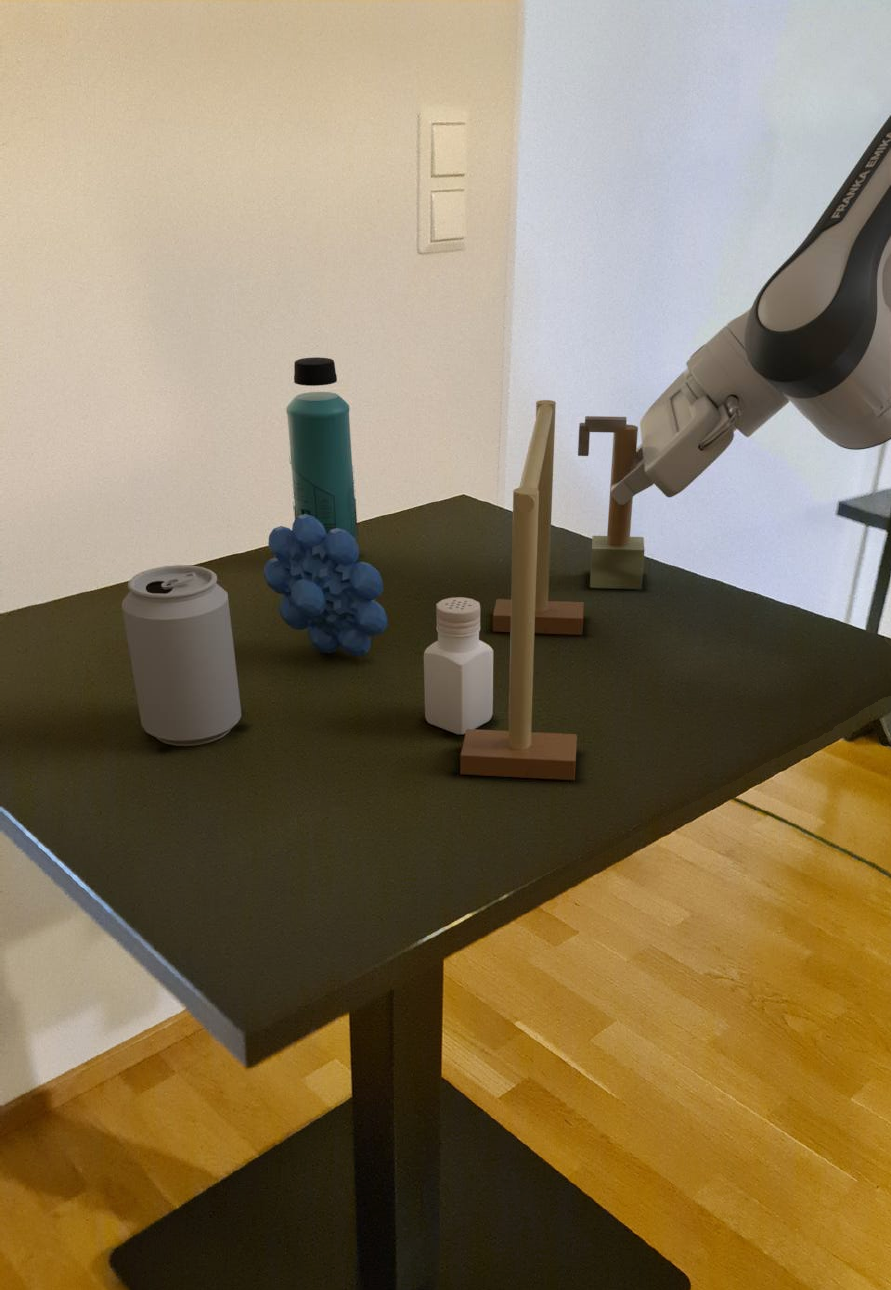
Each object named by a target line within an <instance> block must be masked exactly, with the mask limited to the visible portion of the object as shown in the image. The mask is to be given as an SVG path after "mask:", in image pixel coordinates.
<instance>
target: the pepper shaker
mask: <svg viewBox="0 0 891 1290" xmlns="http://www.w3.org/2000/svg"><path fill="white" fill-rule="evenodd" d="M435 610H436V611H435V612H436V627H435V628H436V631H437V640H436V641H434V642H433V643H431V644H430V645H429V646H427V647H426V649H425V650H424V651H423V682H424V687H423V688H424V717H425V720H426V723H428V724H430V725H433V726H435V727H437V728H441V729H443V730H446V731H448V732H451V733H452V734H456V735H465V733H466V730H467V729H477V728H479V727H481V726H483V725H484V724H486V723H488V722H489V721H490V720H491V719H492V717H493V714H494V712H493V711H494V710H493V709H494V703H493V702H494V649H493V648H492V647H491V646H490V645H489V644H488V643H486V642H484V641H483V640H481V639H480V631H481V604H480V602H479V601H477V600H475V599H473V598H468V597H462V596H458V597H457V596H456V597H448V598H444V599H440V601H438V602H437V603H436V609H435Z"/></svg>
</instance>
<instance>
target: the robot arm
mask: <svg viewBox="0 0 891 1290" xmlns="http://www.w3.org/2000/svg"><path fill="white" fill-rule="evenodd" d="M685 365H686V369H685V370H683V371H682V373H680V374H679V375H678V376H677V377H676V379H674V381H673V382H672V383H671V384H670V385H669V386H668V387H667V388H666V389H665V390H664V391H663V392H662V393H661V394H660V396H659V397H658V398H657V399H656V400H655V401H654V402H653V403H652V404H651V405H650V407H649V408H648V409H647V411H646V412H645V413H644V414H643V416H642V418H641V419H640V420H639V427H640V437H641V443H640V444H639V445H637V448H636V462H635V469H633V470H632V471H631V472H630V473H629V474H627V475H626V476H625V477H622V478H621V479H619V480H618V481H617V482H616V483H615V484H614V485H613V486H612V487H611V496H612V497H613V498H614V499H615V500H616V502H617V503H618V504H620V505H623V504H625V503H626V502H628V501H629V500H630V499H631V498H632V497H633V498H634V497H635V496H636V495H637V494H638V495H639V494H640V493H641V492H643V491H645V490H646V489H649V488H650V487H652V486H653V485H654V486H656V488H658V490H660V491H661V493H662V494H663V495H664V496H665V497H667V498H672V497H674V496H676V495H678V494H680V493H681V492H683V491H685V490H686V488H687V487H689V485H691V484H692V483H693V482H694V481H695V480H696V479H697V478H698V477H699V476H700V475H702V474H703V473H704V472H705V471H706V470H707V469H708V468H709V467H710V466H711V465H712V464H713V463H714V462H715V461H716V460H717V459H718V458H719V457H720V456H721V455H722V454H723V453H724V452H725V451H726V450H727V449H728V448H729V446H730V445H731V444H732V442H733V440H734V438H735V433H734V432H735V431H737V430H738V431H739V432H740V433H741V434H742V435H743V436H744V437H745V438H750V437H752V435H753V434H754V433H755V432H756V431H758V430H759V429H760V428H761V427H762V426H764V424H766V423H767V422H768V421H769V420H770V419H772V418H773V417H774V416H775V415H776V414H777V413H779V412H780V411H781V410H782V409H783V408H784V407H785V406H786V405H788V404H789V403H791V404H792V405H793V406H794V407H795V409H797V411H799V413H800V414H801V415H802V416H803V417H804V418H805V419H806V420H807V421H809V422H810V423H811V424H812V425H813V427H814V428H816V429H817V431H818V432H819V433H820V434H821V435H822V436H824V437H825V438H826V439H827V440H829V441H831V442H833V443H834V444H835V445H837V446H838V447H840V448H843V449H847V450H851V451H852V450H853V451H858V450H859V451H861V450H867V449H871V448H875V447H877V446H880V445H883V444H885V443H887V442H889V441H891V114H890V115H889V117H888V118H887V119H886V120H885V122H884V123H883V125H882V126H881V128H880V129H879V130H878V132H877V133H876V135H874V137H873V139H872V140H871V141H870V142H869V145H867V147H866V149H865V150H864V152H863V153H862V155H861V156H860V158H859V159H858V161H857V162H856V164H855V165H854V167H853V169H852V170H851V171H850V173H849V175H848V176H847V177H846V179H844V181H843V183H842V185H841V186H840V188H839V189H838V190H837V192H836V193H835V195H834V197H833V198H832V199H831V201H830V203H829V204H828V205H827V207H826V208H825V210H824V211H823V213H822V214H821V216H820V217H819V219H818V220H817V222H816V223H815V225H814V226H813V227H812V228H811V230H810V232H808V234H807V236H806V237H805V239H804V240H803V241H802V242H801V243H800V245H799V246H798V247H797V249H796V250H795V251H794V252H793V253H792V254H791V255H790V256H789V257H788V258H787V259H786V260H785V261H784V262H783V263H782V264H781V265H780V266H779V267H778V268H777V270H776V271H775V272H774V273H772V275H771V276H770V277H769V279H768V280H767V281H766V282H765V283H764V285H763V286H762V287H761V288H760V290H759V291H758V293H757V295H756V297H755V299H754V300H753V303H752V306H751V307H750V308H749V309H748V310H746V311H745V312H744V313H742V314H741V315H738V316H737V317H735V318H733V319H731V320H730V321H729V322H727V323H726V325H724V326H723V327H722V328H721V329H720V330H719V331H718V332H716V333H715V334H714V336H712V337H711V338H710V339H709V340H708V341H707V342H706V343H705V344H703V345H701V346H700V347H699V348H697V350H695V352H694V353H692V355H690V357H689V359H687V361H686V362H685Z"/></svg>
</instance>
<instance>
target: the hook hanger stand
mask: <svg viewBox="0 0 891 1290" xmlns="http://www.w3.org/2000/svg"><path fill="white" fill-rule="evenodd" d="M627 421H628V420H627V416H603V415H602V416H601V415H600V416H598V415H597V416H593V415H586V416H584V422H579V425H578V443H577V456H578V457H589V456H590V435H591V433H611V434H613V435H612V436H613V437H612V451H611V453H612V454H611V468H610V469H611V470H610V485H609V503H608V516H607V517H608V518H607V531H606V532H607V533H606V535H592V539H591V558H590V573H589V574H590V575H589V576H590V577H589V578H590V579H589V588H590V589H612V590H613V589H615V590H616V589H617V590H642V587H643V585H642V584H643V574H644V563H645V551H646V550H645V539H644V537H643V536H631V527H632V516H633V500H634V496H633V497H632V498H631V499H630V500H629V501H628V502H626V503H625V504H623V505H620V504H618V503H617V502H616V500H615V499H614V498H613V497H612V496H611V487H612V486H613V485H614V484H615V483H616V482H617V481H618V480H619V479H621V478H622V477H625V476H626V475H627V474H629V473H630V472H631V471H632V470H633V469H635V462H636V448H637V447H638V433H639V427H638V426H637V425H634V424H627Z"/></svg>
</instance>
